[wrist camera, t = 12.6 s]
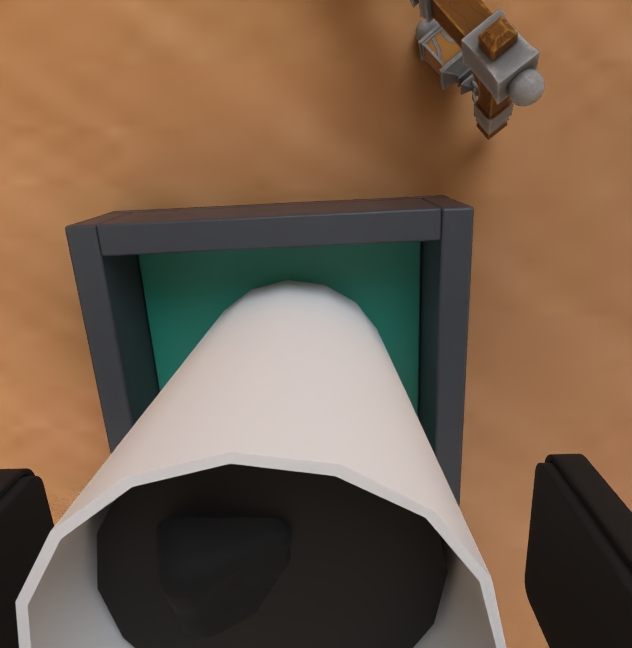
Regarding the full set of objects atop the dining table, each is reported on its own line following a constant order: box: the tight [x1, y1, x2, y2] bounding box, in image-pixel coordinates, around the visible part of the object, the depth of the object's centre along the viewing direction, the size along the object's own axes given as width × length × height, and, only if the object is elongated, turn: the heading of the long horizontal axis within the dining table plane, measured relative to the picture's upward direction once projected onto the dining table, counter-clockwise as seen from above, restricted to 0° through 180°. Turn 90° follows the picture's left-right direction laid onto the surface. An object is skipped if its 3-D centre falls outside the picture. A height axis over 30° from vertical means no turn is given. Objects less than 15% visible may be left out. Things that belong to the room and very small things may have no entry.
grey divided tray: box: [65, 195, 474, 506], centre depth 17 cm, size 10×19×3 cm, turn 3°
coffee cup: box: [15, 280, 506, 648], centre depth 12 cm, size 7×7×10 cm
